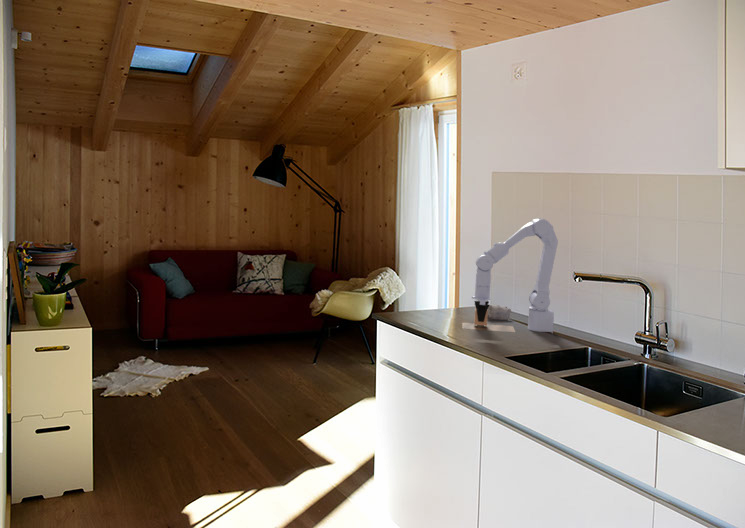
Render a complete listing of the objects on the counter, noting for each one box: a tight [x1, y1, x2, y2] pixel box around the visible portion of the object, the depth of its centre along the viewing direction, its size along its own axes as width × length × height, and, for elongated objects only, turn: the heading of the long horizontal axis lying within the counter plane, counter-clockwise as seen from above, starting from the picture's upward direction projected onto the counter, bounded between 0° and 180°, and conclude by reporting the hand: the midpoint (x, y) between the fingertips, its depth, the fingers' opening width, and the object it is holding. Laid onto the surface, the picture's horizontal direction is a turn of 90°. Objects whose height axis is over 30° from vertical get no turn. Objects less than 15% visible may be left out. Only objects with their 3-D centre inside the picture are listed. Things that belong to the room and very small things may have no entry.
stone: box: [487, 304, 512, 321], centre depth 270 cm, size 8×12×7 cm, turn 104°
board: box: [461, 322, 516, 333], centre depth 250 cm, size 20×12×4 cm, turn 82°
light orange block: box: [473, 306, 488, 326], centre depth 251 cm, size 5×5×6 cm
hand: (480, 320), depth 251 cm, fingers closed on light orange block, 5 cm apart
